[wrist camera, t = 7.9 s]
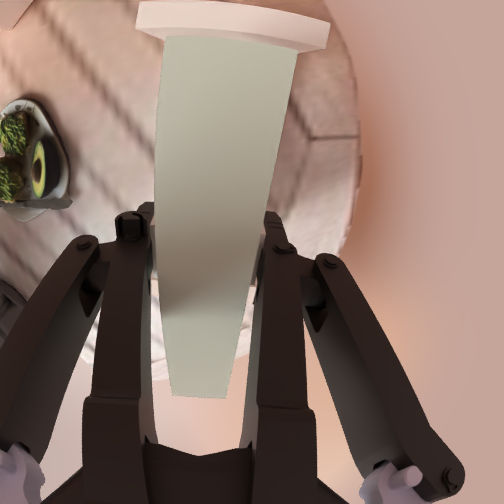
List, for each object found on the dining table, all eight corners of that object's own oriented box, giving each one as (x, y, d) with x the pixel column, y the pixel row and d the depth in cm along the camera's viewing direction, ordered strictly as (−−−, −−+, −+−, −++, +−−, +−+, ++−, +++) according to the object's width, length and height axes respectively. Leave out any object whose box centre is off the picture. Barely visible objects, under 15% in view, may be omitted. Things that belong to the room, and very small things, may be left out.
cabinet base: (251, 225, 38) (264, 303, 27) (161, 218, 36) (137, 294, 25) (286, 40, 24) (330, 23, 13) (175, 28, 22) (139, 1, 11)
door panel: (203, 56, 14) (161, 35, 5) (255, 62, 15) (302, 51, 5) (186, 261, 24) (170, 395, 14) (224, 264, 24) (227, 398, 14)
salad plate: (15, 237, 35) (2, 254, 31) (-32, 152, 24) (-49, 164, 21) (91, 191, 33) (78, 208, 29) (38, 79, 22) (17, 85, 19)
